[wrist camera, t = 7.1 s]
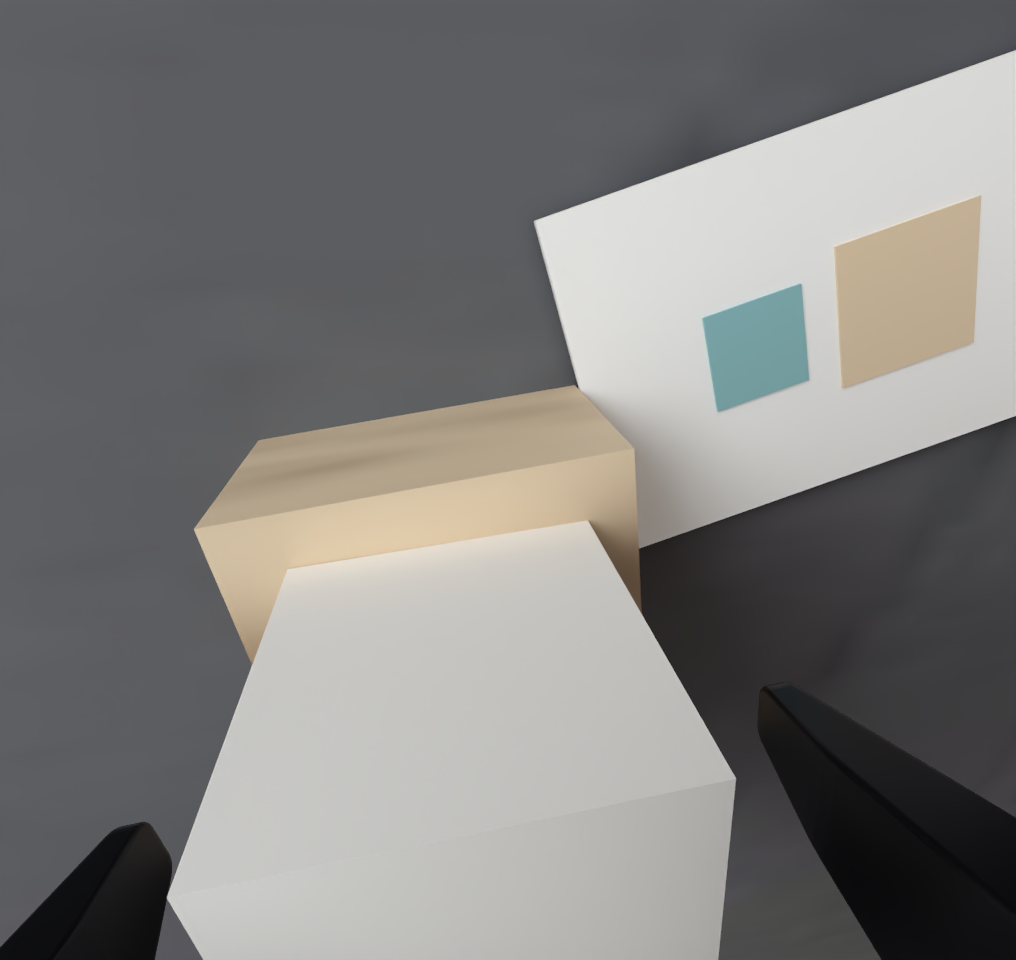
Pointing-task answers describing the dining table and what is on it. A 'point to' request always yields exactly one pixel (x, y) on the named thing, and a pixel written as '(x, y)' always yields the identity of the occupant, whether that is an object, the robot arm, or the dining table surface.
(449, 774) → the white cube
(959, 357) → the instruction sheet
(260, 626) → the oak base
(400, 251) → the dining table surface
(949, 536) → the dining table surface
